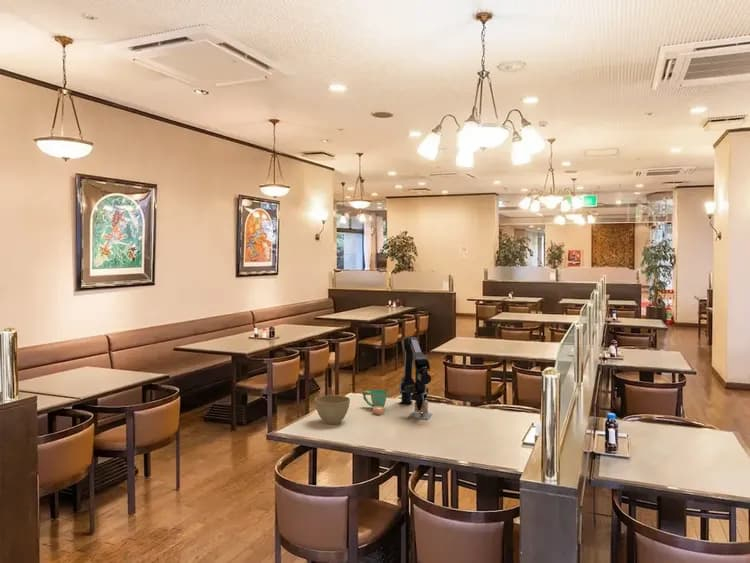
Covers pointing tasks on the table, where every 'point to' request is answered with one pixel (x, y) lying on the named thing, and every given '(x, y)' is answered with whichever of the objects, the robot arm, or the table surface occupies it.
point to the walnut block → (421, 407)
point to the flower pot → (332, 408)
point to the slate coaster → (420, 415)
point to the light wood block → (426, 407)
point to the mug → (376, 397)
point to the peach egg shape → (378, 410)
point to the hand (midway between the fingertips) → (420, 408)
